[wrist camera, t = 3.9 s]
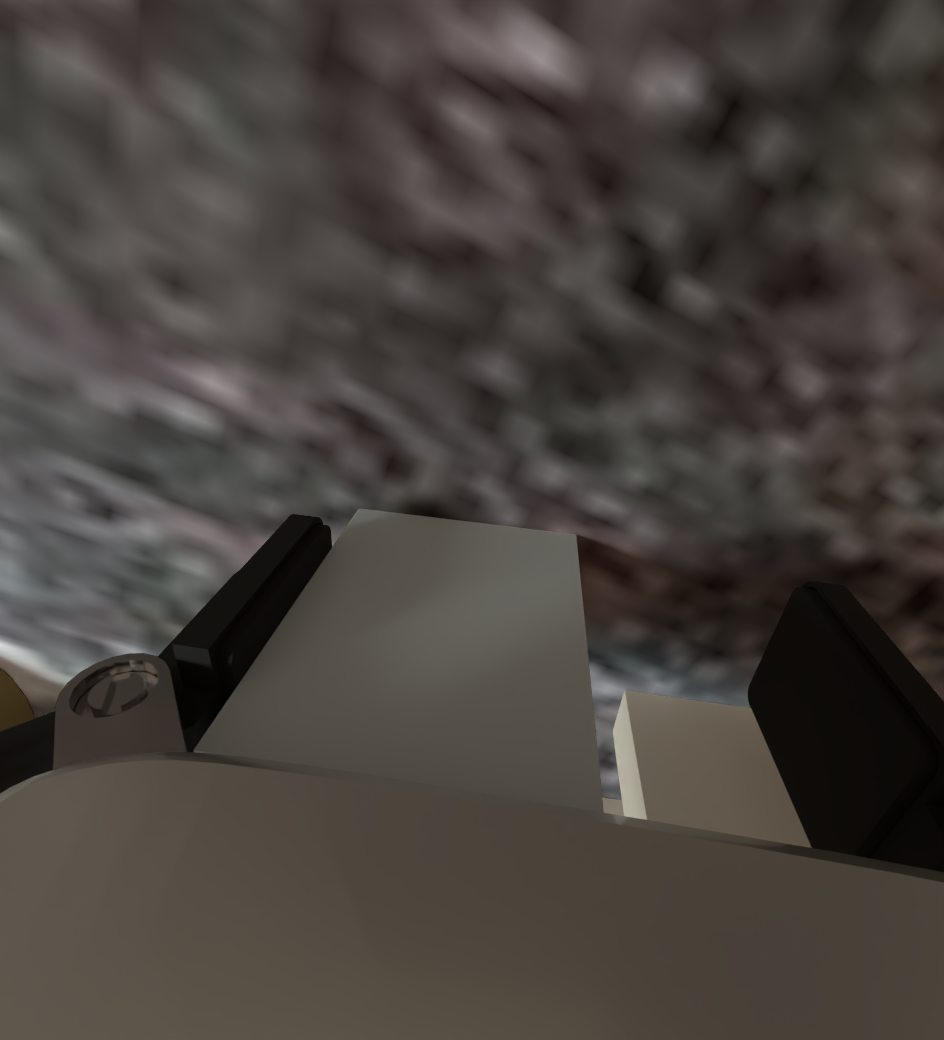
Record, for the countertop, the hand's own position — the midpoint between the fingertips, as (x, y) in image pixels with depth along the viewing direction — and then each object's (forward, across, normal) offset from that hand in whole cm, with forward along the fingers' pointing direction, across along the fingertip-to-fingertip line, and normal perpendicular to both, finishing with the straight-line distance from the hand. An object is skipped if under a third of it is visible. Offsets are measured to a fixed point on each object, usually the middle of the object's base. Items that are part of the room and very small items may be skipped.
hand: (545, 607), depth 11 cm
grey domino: (+2, +2, 0) cm, 2 cm away
